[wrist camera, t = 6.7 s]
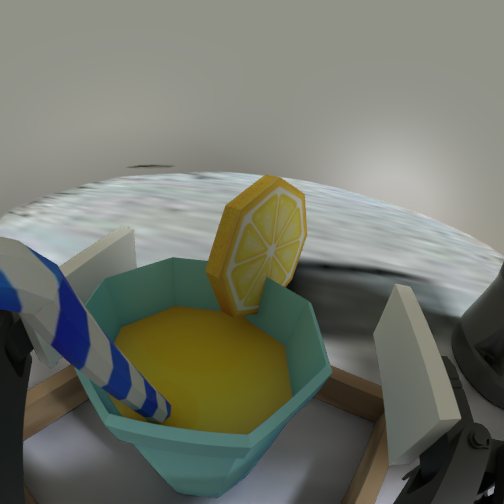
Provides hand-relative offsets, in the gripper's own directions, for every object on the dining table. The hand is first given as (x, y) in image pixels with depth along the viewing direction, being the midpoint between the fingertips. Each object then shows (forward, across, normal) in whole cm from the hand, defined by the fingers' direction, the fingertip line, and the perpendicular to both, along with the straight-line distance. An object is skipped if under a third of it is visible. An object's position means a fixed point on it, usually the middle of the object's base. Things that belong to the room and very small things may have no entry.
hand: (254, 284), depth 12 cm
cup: (-5, -1, -10) cm, 11 cm away
